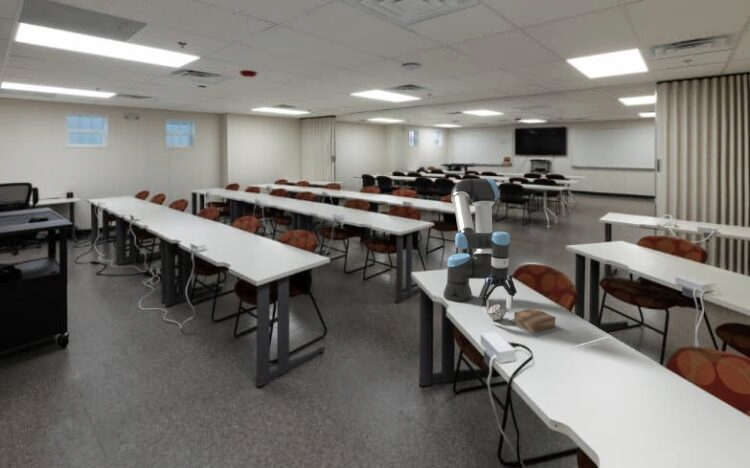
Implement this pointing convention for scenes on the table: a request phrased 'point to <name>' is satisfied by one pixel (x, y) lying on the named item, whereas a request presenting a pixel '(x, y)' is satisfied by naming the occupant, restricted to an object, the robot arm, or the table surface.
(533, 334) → the build mat
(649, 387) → the table surface
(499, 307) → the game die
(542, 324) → the base block
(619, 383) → the table surface
